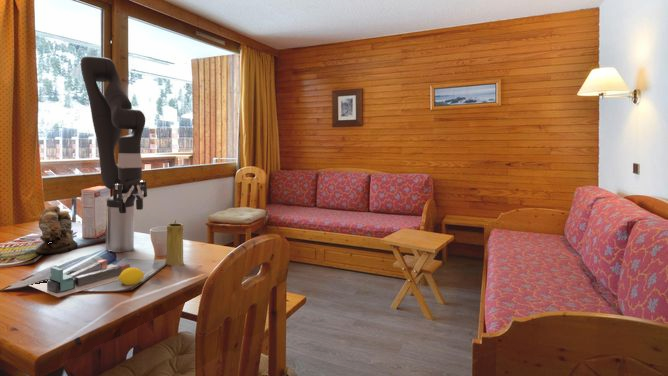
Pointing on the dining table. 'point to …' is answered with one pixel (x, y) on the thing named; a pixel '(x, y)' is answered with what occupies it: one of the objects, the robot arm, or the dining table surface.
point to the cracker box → (94, 211)
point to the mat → (77, 288)
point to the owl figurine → (55, 231)
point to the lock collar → (61, 278)
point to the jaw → (91, 268)
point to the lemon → (131, 276)
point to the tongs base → (88, 278)
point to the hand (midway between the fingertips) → (131, 211)
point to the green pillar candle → (174, 244)
